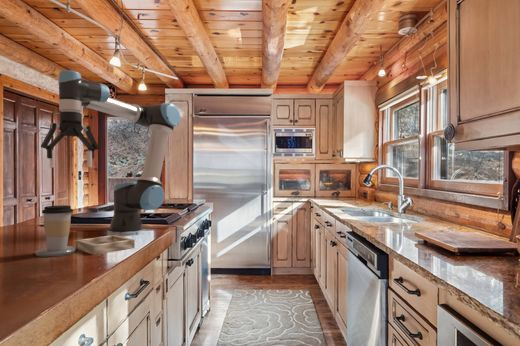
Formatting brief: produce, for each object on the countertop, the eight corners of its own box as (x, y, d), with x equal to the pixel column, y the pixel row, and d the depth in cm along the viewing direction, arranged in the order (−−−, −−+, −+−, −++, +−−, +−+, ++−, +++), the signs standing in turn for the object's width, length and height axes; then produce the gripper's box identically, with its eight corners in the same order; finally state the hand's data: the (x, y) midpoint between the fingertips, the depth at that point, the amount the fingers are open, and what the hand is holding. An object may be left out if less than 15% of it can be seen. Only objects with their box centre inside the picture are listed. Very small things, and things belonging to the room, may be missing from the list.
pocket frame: (115, 242, 139) (115, 235, 139) (134, 247, 130) (134, 239, 130) (75, 248, 128) (75, 240, 128) (93, 254, 118) (93, 246, 118)
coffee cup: (45, 247, 124) (46, 205, 124) (75, 245, 127) (75, 204, 127) (37, 253, 115) (38, 207, 115) (69, 251, 118) (69, 207, 118)
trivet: (67, 247, 129) (67, 244, 129) (81, 252, 121) (81, 249, 121) (30, 253, 120) (30, 249, 120) (42, 258, 112) (42, 255, 112)
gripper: (98, 116, 145) (99, 167, 146) (30, 109, 126) (31, 167, 126) (107, 114, 140) (108, 166, 141) (37, 107, 121) (39, 167, 122)
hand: (71, 167), depth 134 cm, fingers open, 13 cm apart
